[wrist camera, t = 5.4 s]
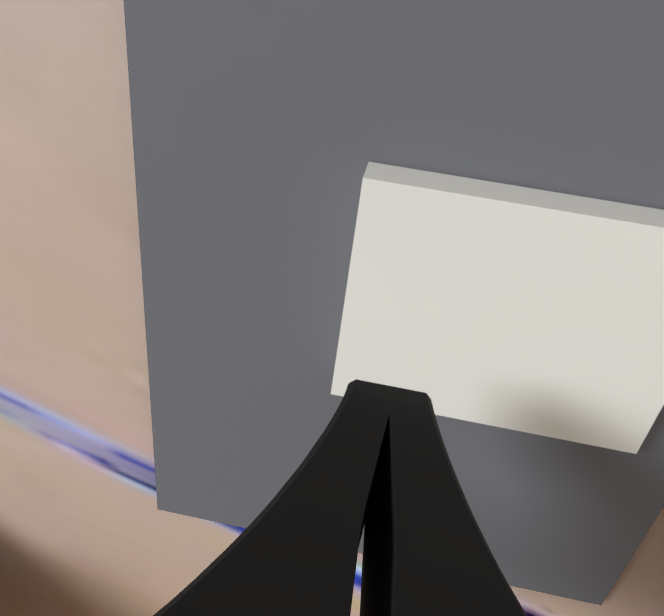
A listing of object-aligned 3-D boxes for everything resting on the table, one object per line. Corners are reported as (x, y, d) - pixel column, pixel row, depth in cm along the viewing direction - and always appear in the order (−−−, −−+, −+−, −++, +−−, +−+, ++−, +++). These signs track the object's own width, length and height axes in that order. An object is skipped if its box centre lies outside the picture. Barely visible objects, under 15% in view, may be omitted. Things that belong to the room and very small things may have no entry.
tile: (337, 366, 16) (622, 420, 16) (330, 394, 15) (636, 453, 15) (369, 160, 13) (727, 219, 13) (362, 177, 12) (753, 242, 12)
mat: (598, 594, 20) (601, 604, 20) (162, 500, 21) (157, 508, 21) (1123, -258, 9) (1151, -267, 8) (111, -357, 10) (98, -369, 9)
